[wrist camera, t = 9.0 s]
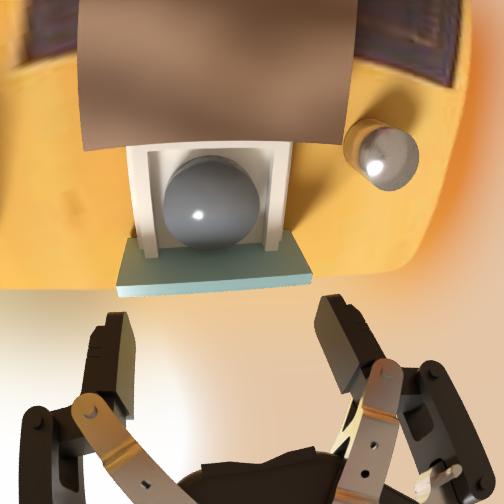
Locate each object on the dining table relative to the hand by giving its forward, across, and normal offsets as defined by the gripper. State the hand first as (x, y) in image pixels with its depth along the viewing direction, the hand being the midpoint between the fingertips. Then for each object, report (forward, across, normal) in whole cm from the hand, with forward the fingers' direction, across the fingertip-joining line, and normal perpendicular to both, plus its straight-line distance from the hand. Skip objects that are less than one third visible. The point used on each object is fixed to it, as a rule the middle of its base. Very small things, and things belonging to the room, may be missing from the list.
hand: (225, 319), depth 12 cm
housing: (+14, 0, -14) cm, 19 cm away
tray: (+13, 0, -3) cm, 14 cm away
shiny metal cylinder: (+13, -13, -4) cm, 19 cm away
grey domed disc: (+11, 0, 0) cm, 11 cm away
